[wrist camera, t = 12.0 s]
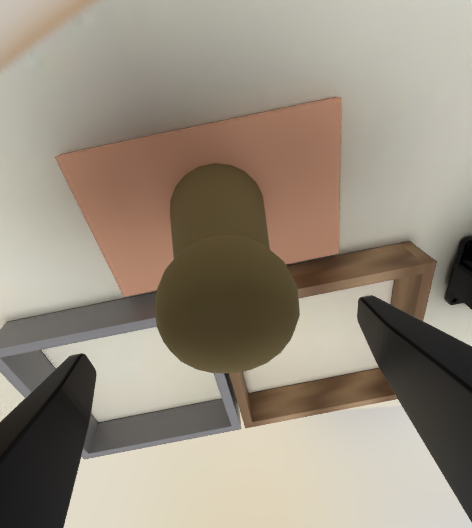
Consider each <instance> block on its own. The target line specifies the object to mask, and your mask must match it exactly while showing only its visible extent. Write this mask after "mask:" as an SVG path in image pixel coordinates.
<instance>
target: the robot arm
mask: <svg viewBox="0 0 472 528" xmlns="http://www.w3.org/2000/svg"><path fill="white" fill-rule="evenodd" d="M445 300H446V302H447V303H448V304H450V305H455V304H460V303H465V304H466V305H467V306H468V307H470V308H471V309H472V236H471V237H467V238H465V239H464V240H463V241H462V242H461V244H460V247H459V251H458V254H457V258H456V262H455V265H454V269H453V273H452V276H451V280H450V284H449V287H448V291H447V295H446V298H445ZM357 319H358V323H359V325H360V327H361V329H362V332H363V334H364V336H365V338H366V340H367V343H368V345H369V347H370V349H371V351H372V354H373V356H374V358H375V360H376V362H377V364H378V366H379V368H380V370H381V371H382V373H383V375H384V377H385V378H386V380H387V382H388V383H389V385H390V387H391V388H392V390H393V392H394V393H395V395H396V397H397V398H398V400H399V402H400V403H401V405H402V407H403V408H404V410H405V412H406V413H407V415H408V417H409V418H410V420H411V421H412V423H413V425H414V426H415V428H416V430H417V432H418V433H419V435H420V437H421V438H422V440H423V442H424V443H425V445H426V447H427V448H428V450H429V452H430V453H431V455H432V457H433V458H434V460H435V462H436V463H437V465H438V467H439V468H440V470H441V472H442V474H443V475H444V477H445V479H446V480H447V482H448V483H449V485H450V487H451V489H452V490H453V492H454V494H455V495H456V497H457V498H458V500H459V502H460V504H461V505H462V507H463V509H464V510H465V512H466V513H467V515H468V517H469V519H470V520H471V522H472V346H470V345H468V344H466V343H464V342H462V341H460V340H458V339H456V338H454V337H452V336H450V335H448V334H446V333H445V332H443V331H441V330H439V329H437V328H435V327H433V326H431V325H429V324H427V323H425V322H423V321H421V320H419V319H417V318H416V317H414V316H412V315H410V314H408V313H406V312H404V311H402V310H400V309H398V308H396V307H394V306H392V305H390V304H388V303H387V302H385V301H383V300H381V299H379V298H377V297H375V296H372V295H370V296H365V297H361V298H359V300H358V312H357ZM95 382H96V370H95V368H94V366H93V365H92V364H91V362H90V361H89V359H88V358H87V356H86V355H85V354H82V353H81V354H76V355H72V356H69V357H68V358H67V359H66V360H65V361H64V362H63V363H62V364H61V365H60V366H59V367H58V368H57V369H56V370H54V371H53V372H52V373H51V374H50V375H49V376H48V377H47V378H46V379H45V380H44V381H43V382H42V383H41V384H40V385H39V386H38V387H37V388H36V389H35V390H34V391H32V392H31V393H30V394H29V395H28V396H27V397H26V398H25V399H24V400H23V401H22V402H21V403H20V404H19V405H18V406H17V407H16V408H15V409H14V410H13V411H11V412H10V413H9V414H8V415H7V416H6V417H5V418H4V419H3V420H2V421H1V422H0V528H63V527H64V523H65V519H66V515H67V511H68V507H69V503H70V499H71V495H72V491H73V487H74V483H75V479H76V475H77V471H78V467H79V463H80V459H81V455H82V451H83V447H84V443H85V439H86V435H87V431H88V427H89V422H90V416H91V410H92V403H93V396H94V389H95Z"/></svg>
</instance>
